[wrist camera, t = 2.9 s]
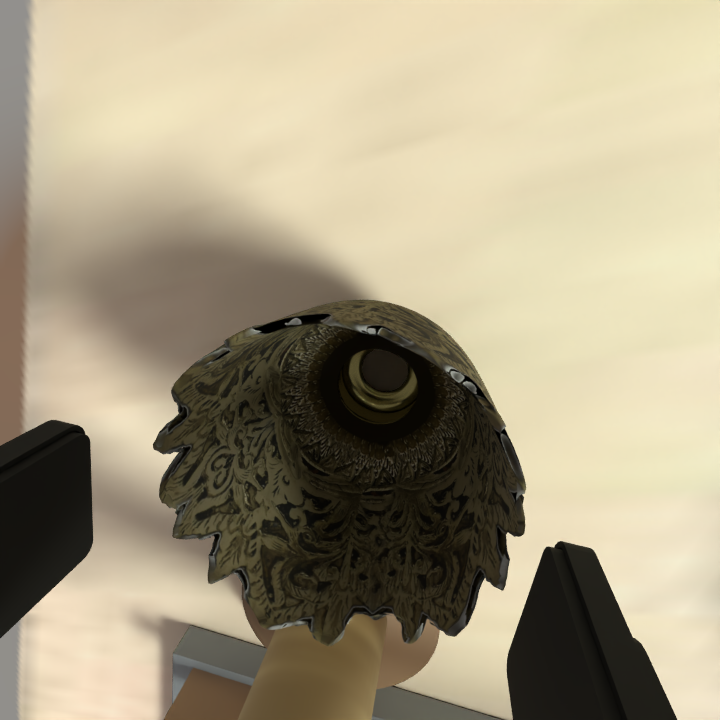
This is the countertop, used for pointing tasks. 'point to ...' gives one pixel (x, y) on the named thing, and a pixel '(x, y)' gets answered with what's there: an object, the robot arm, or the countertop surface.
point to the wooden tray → (238, 671)
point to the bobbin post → (332, 669)
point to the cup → (344, 472)
